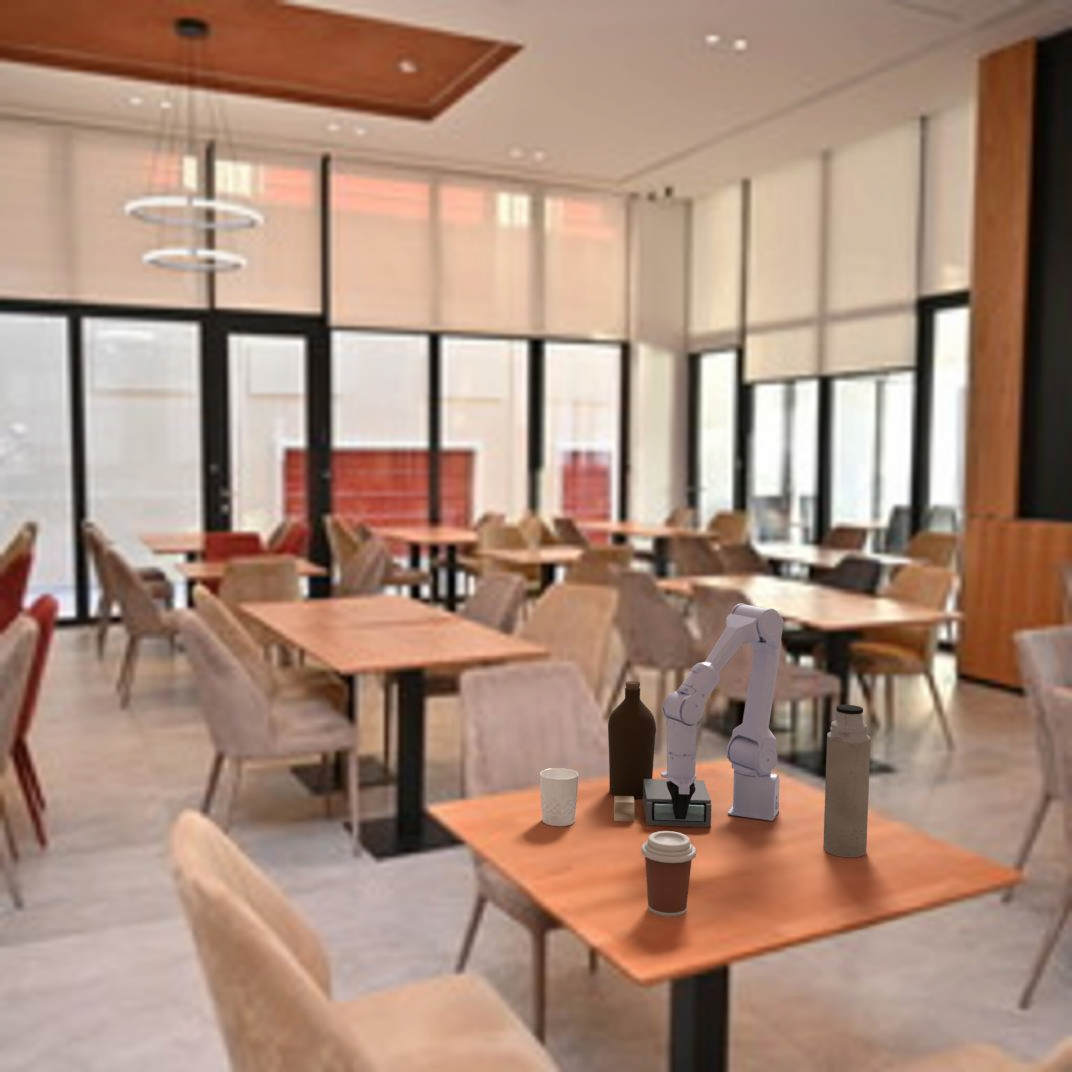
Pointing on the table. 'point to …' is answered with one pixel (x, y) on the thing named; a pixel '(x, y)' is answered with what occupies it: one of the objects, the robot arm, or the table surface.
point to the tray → (666, 812)
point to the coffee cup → (668, 872)
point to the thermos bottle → (847, 784)
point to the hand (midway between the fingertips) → (680, 818)
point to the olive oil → (631, 744)
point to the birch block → (624, 808)
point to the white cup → (558, 796)
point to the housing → (659, 793)
